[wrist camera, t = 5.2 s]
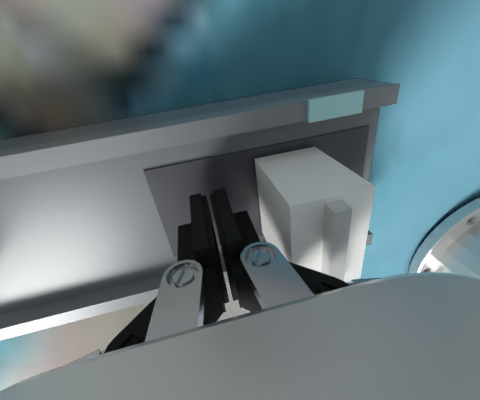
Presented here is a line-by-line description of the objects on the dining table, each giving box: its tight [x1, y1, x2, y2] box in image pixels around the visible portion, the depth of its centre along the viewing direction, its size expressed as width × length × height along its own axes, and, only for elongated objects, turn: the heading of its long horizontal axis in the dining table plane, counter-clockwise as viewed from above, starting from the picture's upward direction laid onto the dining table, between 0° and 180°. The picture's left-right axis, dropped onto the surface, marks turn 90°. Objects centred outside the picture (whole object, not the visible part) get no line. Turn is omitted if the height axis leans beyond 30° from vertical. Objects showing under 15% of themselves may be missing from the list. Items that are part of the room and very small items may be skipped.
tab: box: [255, 146, 376, 282], centre depth 11 cm, size 3×4×5 cm
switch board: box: [0, 78, 400, 341], centre depth 13 cm, size 32×9×4 cm, turn 96°
